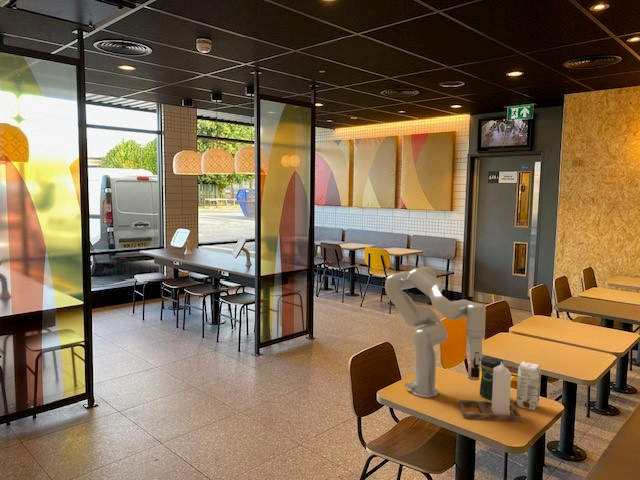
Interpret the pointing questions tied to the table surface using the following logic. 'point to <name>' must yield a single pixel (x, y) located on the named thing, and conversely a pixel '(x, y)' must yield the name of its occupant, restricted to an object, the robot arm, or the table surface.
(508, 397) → the milk
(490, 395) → the coffee jar
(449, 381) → the table surface
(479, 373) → the shaker
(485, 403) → the organizer
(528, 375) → the juice carton
